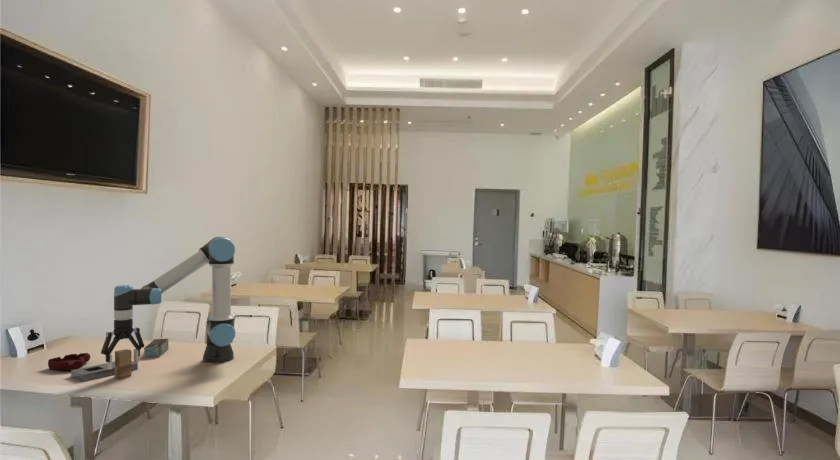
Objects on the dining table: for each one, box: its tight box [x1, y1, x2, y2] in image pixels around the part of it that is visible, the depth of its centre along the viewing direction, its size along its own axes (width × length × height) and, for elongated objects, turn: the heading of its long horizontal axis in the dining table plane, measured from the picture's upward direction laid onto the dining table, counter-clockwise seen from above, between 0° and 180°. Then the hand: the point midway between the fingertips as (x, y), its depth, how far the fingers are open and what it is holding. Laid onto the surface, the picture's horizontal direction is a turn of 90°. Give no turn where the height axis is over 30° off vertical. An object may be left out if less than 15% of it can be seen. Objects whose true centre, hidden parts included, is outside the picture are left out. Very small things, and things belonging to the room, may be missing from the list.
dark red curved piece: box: [47, 352, 91, 371], centre depth 247 cm, size 18×16×5 cm
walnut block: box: [114, 348, 133, 380], centre depth 232 cm, size 5×5×12 cm
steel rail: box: [70, 360, 139, 382], centre depth 238 cm, size 12×24×3 cm, turn 146°
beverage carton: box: [143, 338, 170, 359], centre depth 275 cm, size 8×19×7 cm, turn 13°
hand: (123, 366), depth 232 cm, fingers open, 11 cm apart
